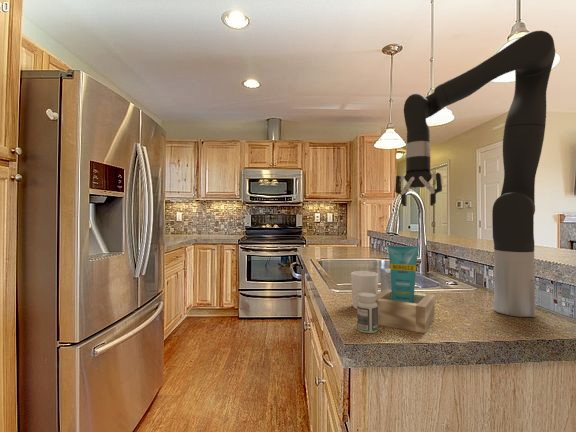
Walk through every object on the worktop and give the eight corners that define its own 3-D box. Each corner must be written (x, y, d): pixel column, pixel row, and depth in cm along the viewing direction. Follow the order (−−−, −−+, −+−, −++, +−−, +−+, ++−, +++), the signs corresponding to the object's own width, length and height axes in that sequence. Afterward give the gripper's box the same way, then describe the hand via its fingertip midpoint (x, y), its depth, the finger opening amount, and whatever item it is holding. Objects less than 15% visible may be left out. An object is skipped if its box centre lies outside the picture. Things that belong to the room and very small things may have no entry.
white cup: (345, 307, 96) (345, 273, 96) (359, 302, 102) (359, 270, 102) (369, 313, 90) (370, 277, 90) (383, 307, 96) (383, 273, 96)
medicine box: (400, 299, 106) (400, 272, 106) (386, 299, 106) (386, 272, 106) (393, 293, 113) (393, 268, 113) (380, 293, 114) (380, 268, 114)
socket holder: (434, 318, 86) (434, 295, 86) (424, 333, 75) (425, 307, 75) (385, 310, 93) (385, 289, 93) (369, 323, 82) (369, 299, 82)
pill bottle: (375, 326, 79) (375, 292, 79) (380, 334, 75) (380, 297, 75) (355, 326, 80) (355, 291, 79) (359, 333, 75) (359, 296, 75)
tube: (387, 321, 83) (387, 246, 83) (387, 316, 88) (387, 244, 88) (419, 324, 81) (419, 246, 81) (417, 318, 86) (417, 245, 85)
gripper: (443, 156, 108) (443, 205, 108) (399, 160, 115) (399, 206, 115) (439, 152, 101) (439, 205, 101) (393, 157, 109) (393, 206, 109)
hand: (418, 205), depth 108 cm, fingers open, 8 cm apart
